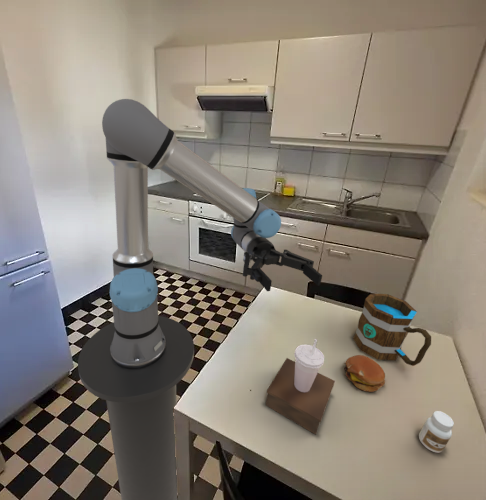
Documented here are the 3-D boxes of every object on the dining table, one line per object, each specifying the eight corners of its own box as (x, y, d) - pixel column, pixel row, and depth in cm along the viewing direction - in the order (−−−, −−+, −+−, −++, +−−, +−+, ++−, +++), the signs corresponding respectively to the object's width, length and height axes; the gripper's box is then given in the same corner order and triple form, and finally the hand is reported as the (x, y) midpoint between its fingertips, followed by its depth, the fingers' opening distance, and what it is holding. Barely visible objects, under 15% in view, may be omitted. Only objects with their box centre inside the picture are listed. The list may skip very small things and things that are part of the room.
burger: (381, 371, 77) (385, 359, 75) (383, 398, 69) (389, 385, 68) (343, 359, 81) (347, 347, 79) (341, 383, 73) (345, 370, 71)
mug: (343, 335, 91) (355, 296, 85) (373, 327, 95) (386, 289, 89) (398, 383, 74) (417, 339, 68) (431, 370, 79) (451, 328, 73)
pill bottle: (421, 449, 59) (435, 424, 56) (415, 429, 62) (427, 405, 59) (446, 456, 57) (461, 432, 54) (438, 436, 61) (451, 412, 58)
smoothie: (312, 402, 62) (324, 354, 56) (284, 388, 65) (294, 341, 59) (319, 382, 67) (331, 336, 61) (293, 370, 70) (303, 325, 64)
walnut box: (264, 405, 66) (266, 390, 64) (284, 371, 75) (286, 357, 74) (316, 436, 60) (321, 420, 58) (330, 395, 69) (335, 380, 67)
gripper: (292, 256, 89) (335, 291, 71) (217, 262, 81) (244, 302, 63) (296, 234, 86) (342, 264, 68) (219, 238, 78) (248, 273, 60)
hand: (295, 283), depth 65 cm, fingers open, 13 cm apart
